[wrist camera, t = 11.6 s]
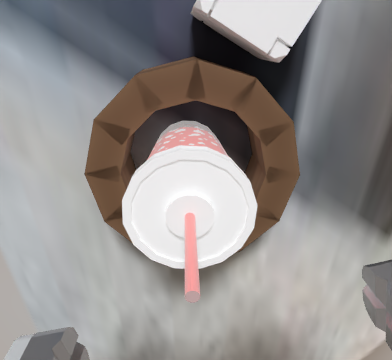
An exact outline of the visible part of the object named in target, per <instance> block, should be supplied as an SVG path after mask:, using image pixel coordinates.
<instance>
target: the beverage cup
mask: <svg viewBox="0 0 392 360" xmlns="http://www.w3.org/2000/svg"><path fill="white" fill-rule="evenodd" d="M256 212H257V202H256V199H255V195H254V192H253V189H252V185H251V182H250V180H249V179H248V178H247V176H246V174H245V173H244V172H243V171H242V170H241V169H240V168H239V167H238V166H237V164H236V163H235V162H234V161H233V160H232V159H231V158H230V157H229V156H228V155H227V153H226V152H225V150H224V148H223V147H222V145H221V143H220V142H219V140H218V139H217V137H216V136H215V135H214V133H213V132H212V131H211V130H210V129H209V128H208V127H207V126H205V125H203V124H201V123H199V122H196V121H180V122H178V123H175V124H172V125H170V126H169V127H168V128H167V129H166V130H164V131H163V132H162V133H161V135H160V137H159V138H158V140H157V142H156V144H155V146H154V148H153V150H152V152H151V154H150V156H149V157H148V159H147V161H146V162H145V163H144V164H143V165H141V166H140V167H139V168H138V169H137V170H136V171H135V173H134V175H133V176H132V178H131V181H130V183H129V185H128V187H127V190H126V192H125V194H124V197H123V199H122V216H123V225H124V227H125V229H126V231H127V233H128V235H129V237H130V239H131V241H132V243H133V245H134V246H136V247H137V248H138V249H139V250H140V251H141V252H143V253H144V254H145V255H146V256H147V257H149V258H150V259H151V260H153V261H156V262H158V263H161V264H164V265H167V266H169V267H172V268H179V269H185V299H186V301H188V302H190V303H194V302H197V301H198V300H199V299H200V284H199V269H201V268H204V267H207V266H210V265H214V264H217V263H220V262H223V261H224V260H226V259H227V258H228V257H230V256H231V255H232V254H234V253H235V252H237V251H238V250H239V249H241V248H242V246H243V245H244V243H245V242H246V240H247V238H248V237H249V235H250V234H251V232H252V231H253V229H254V225H255V219H256Z"/></svg>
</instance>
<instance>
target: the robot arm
mask: <svg viewBox="0 0 392 360" xmlns="http://www.w3.org/2000/svg"><path fill="white" fill-rule="evenodd" d="M362 278H363V279H364V281H365V282H366V283H367V285H366V286H365V287H364V289H363V301H364V304H365V307H366V310H367V312H368V314H369V316H370V318H371V320H372V321H373V323H374V325H375V326H376V327H378V328H379V329H381V330H383V331H385V332H386V343H387V344H388V346H389V347H390V349H391V350H392V260H388V261H384V262H379V263H375V264H370V265H365V266H363V269H362ZM77 338H78V334H77V332H76V331H75V329H74V328H73V327H67V328H61V329H56V330H50V331H45V332H39V333H36V334H30V335H24V336H20V337H19V338H17V339H16V340H15V341H14V343H13V344H12V346H11V348H10V349H9V351H8V353H7V355H6V356H5V358H4V360H90V359H89V355H88V352H87V350H86V348H85V346H83V345H82V344H80V343H78V342H76V341H77Z"/></svg>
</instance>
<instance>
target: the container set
mask: <svg viewBox="0 0 392 360" xmlns="http://www.w3.org/2000/svg"><path fill="white" fill-rule="evenodd" d="M321 1H322V0H196V2H195V4H194V6H193V9H192V12H191V14H192V15H193V16H194V17H196V18H197V19H198V20H200V21H201V20H202V21H203V23H204V24H206V25H208V26H209V27H211V28H212V29H214V30H215V31H217V32H218V33H220V34H221V35H223V36H224V37H226V38H227V39H229V40H230V41H232V42H234V43H235V44H237V45H238V46H240V47H241V48H243V49H244V50H246V51H248V52H249V53H250V54H252V55H254V56H255V57H257V58H259V59H262V60H267V61H273V62H278V63H279V62H280V61H281V60H282V59H283V58H284V57H285V56H286V55H287V54H288V53H289V51H290V49H289V48H288V47H287V46H289V47H292V46H293V45H294V43H295V42H296V40H297V38H298V37H299V35H300V34H301V32H302V31H303V29H304V27H305V26H306V24H307V23H308V21H309V20H310V18H311V16H312V15H313V13H314V12H315V10H316V9H317V7H318V5H319V4H320V2H321Z"/></svg>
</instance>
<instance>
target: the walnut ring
mask: <svg viewBox="0 0 392 360" xmlns="http://www.w3.org/2000/svg"><path fill="white" fill-rule="evenodd" d="M195 100H197V101H200V102H203V103H207V104H210V105H214V106H217V107H221V108H224V109H228V110H231V111H234V112H236V113H237V115H238V116H239V117H240V118H241V119H242V120H243V121H244V122H245V123H246V125H247V127H248V133H249V138H250V144H251V149H252V156H251V158H250V161H249V164H248V166H247V169H246V172H245V174H246V176H247V178H248V179H249V180H250V182H251V185H252V189H253V192H254V195H255V199H256V202H257V212H256V219H255V225H254V229H253V231H252V232H251V234H250V235H249V237H248V238H247V240H246V242H245V243H244V245H243V246H242V248H241V249H239V250H238V251H237V252H240V251H241V250H243V249H244V248H245V247H246V246H248V245H249V244H250V243H252V242H253V241H254V240H255V239H257V238H258V237H259V236H260V235H262V234H263V233H264V232H266V231H267V230H268V229H269V228H271V227H272V226H273V225H275V224H276V223H277V222H278V221H280V218H281V216H282V213H283V211H284V209H285V207H286V205H287V202H288V200H289V198H290V196H291V193H292V191H293V189H294V187H295V185H296V182H297V180H298V178H299V176H300V172H299V164H298V155H297V147H296V138H295V130H294V122H293V121H292V120H291V119H290V117H289V116H288V115H287V114H286V113H285V111H284V110H283V109H282V108H281V107H280V105H279V104H278V103H277V102H276V101H275V99H274V98H273V97H272V96H271V95H270V94H269V92H268V91H267V90H266V89H265V88H264V86H263V85H262V84H261V83H260V82H259V80H258V79H257V78H256V77H254V76H252V75H249V74H247V73H245V72H243V71H238V70H235V69H232V68H229V67H226V66H222V65H219V64H216V63H213V62H210V61H206V60H203V59H200V58H197V57H194V56H193V57H190V58H186V59H182V60H179V61H175V62H171V63H167V64H163V65H160V66H156V67H152V68H148V69H143V70H142V71H140V72H139V73H137V74H136V75H135V76H134V77H133V78H132V79H131V80H130V81H129V82H128V83H127V85H126V86H125V87H124V88H123V89H122V90H121V91H120V92H119V93H118V94H117V95H116V96H115V98H114V99H113V100H112V101H111V102H110V103H109V104H108V105H107V106H106V107H105V108H104V109H103V110H102V112H101V113H100V114H99V115H98V116H97V117H96V118H95V119H94V122H93V128H92V133H91V139H90V145H89V151H88V157H87V163H86V169H85V173H84V174H85V176H86V178H87V181H88V183H89V186H90V188H91V190H92V193H93V195H94V198H95V200H96V202H97V205H98V207H99V209H100V212H101V214H102V217H103V219H104V221H105V222H106V223H107V224H108V225H110V226H111V227H112V228H114V229H115V230H116V231H117V232H119V233H120V234H121V235H123V236H124V237H125V238H126V239H128V240H129V241H130V242H131V243H132V241H131V239H130V237H129V235H128V233H127V231H126V229H125V227H124V225H123V216H122V199H123V197H124V194H125V192H126V190H127V187H128V185H129V183H130V181H131V178H132V176H133V175H134V173H135V171H136V168H135V165H134V162H133V159H132V156H131V153H130V152H131V147H132V143H133V138H134V134H135V131H136V130H137V129H138V128H139V127H140V126H141V125H142V124H143V123H144V122H145V121H146V120H147V119H148V118H149V117H150V116H151V115H152V114H153V113H154V112H155V111H156V110H160V109H163V108H167V107H171V106H175V105H179V104H183V103H187V102H191V101H195Z"/></svg>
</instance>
